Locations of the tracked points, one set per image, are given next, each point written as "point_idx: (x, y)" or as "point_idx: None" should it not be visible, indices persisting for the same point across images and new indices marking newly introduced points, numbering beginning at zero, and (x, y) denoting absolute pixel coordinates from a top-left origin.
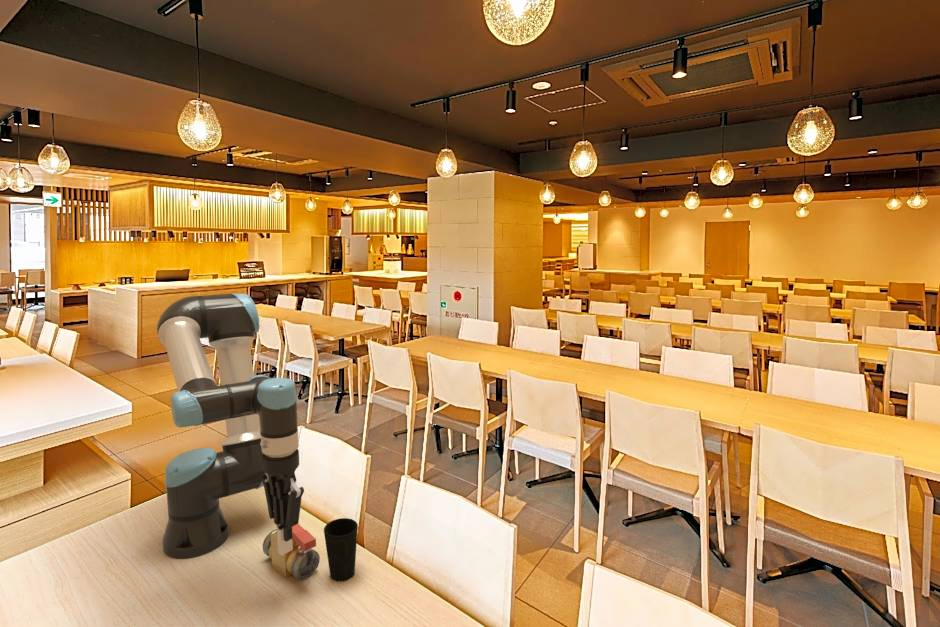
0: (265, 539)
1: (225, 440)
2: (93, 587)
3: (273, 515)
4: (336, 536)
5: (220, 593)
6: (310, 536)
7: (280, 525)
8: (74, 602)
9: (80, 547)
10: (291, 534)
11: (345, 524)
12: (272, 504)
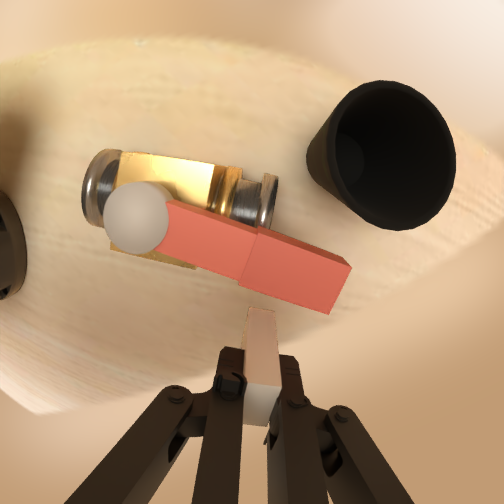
0: (90, 221)
1: None
2: (22, 369)
3: (187, 435)
4: (423, 223)
5: (140, 332)
6: (318, 265)
7: (267, 436)
8: (37, 391)
9: None
10: (299, 375)
11: (366, 96)
12: (161, 476)
